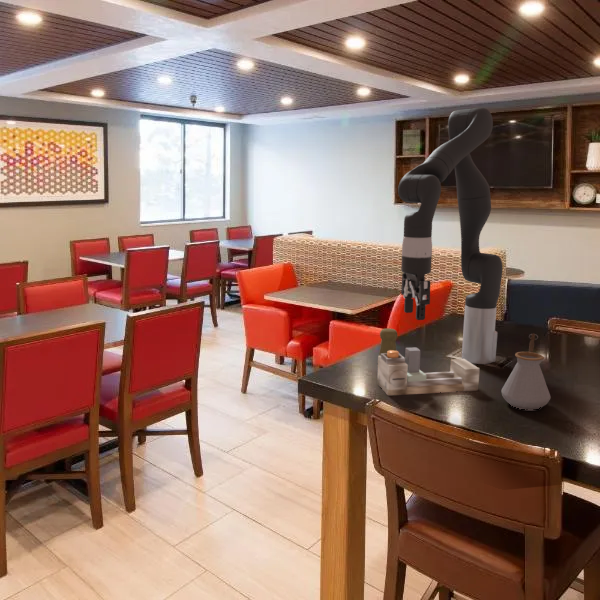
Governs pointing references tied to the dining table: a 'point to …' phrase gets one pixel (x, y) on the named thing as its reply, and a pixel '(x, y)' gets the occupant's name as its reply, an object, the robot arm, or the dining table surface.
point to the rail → (396, 383)
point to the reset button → (392, 354)
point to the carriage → (414, 365)
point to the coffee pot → (527, 381)
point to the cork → (387, 340)
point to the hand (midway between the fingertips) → (414, 316)
